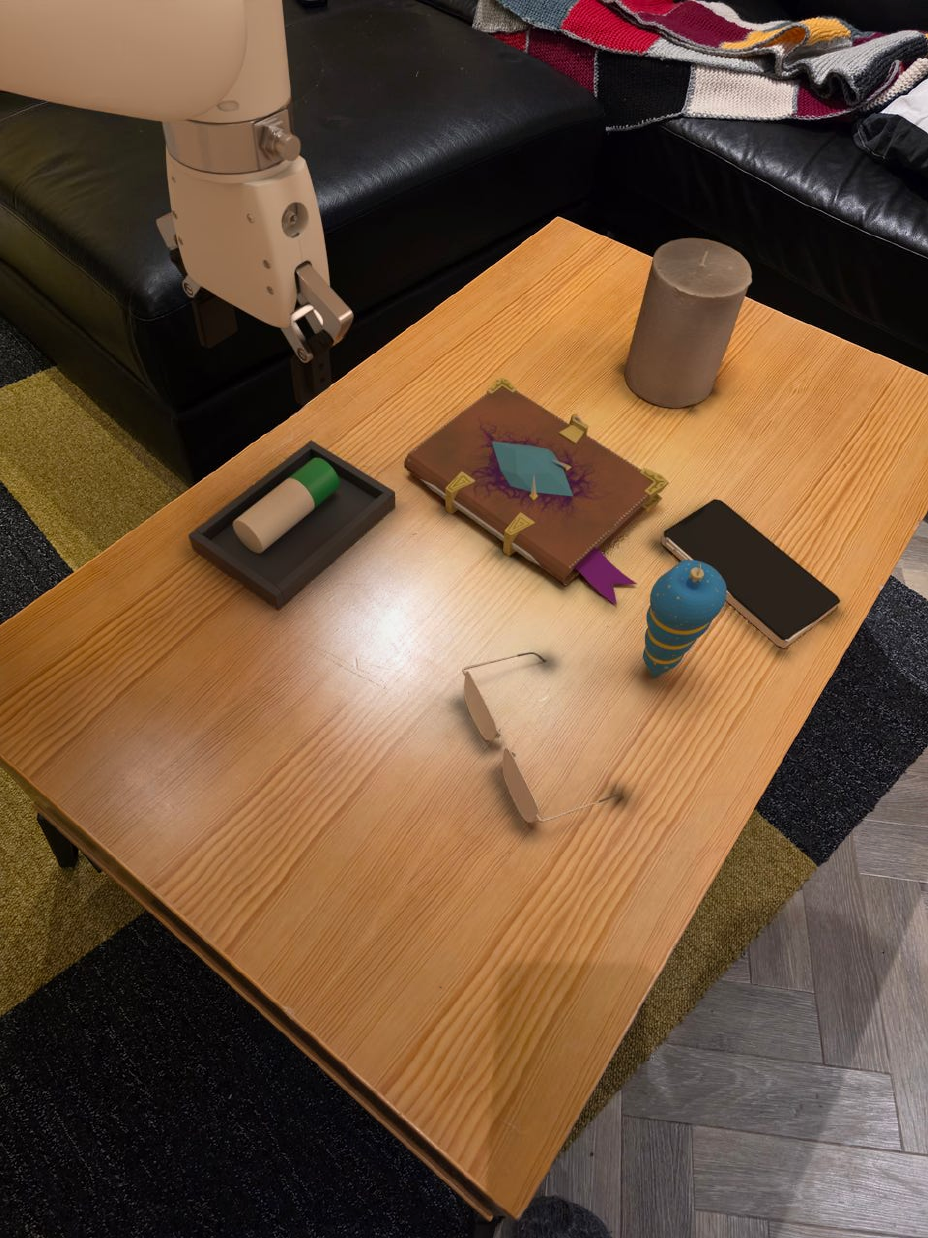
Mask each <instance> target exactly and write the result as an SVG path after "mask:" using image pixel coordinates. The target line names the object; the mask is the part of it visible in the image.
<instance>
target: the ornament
mask: <svg viewBox="0 0 928 1238" xmlns="http://www.w3.org/2000/svg"><path fill="white" fill-rule="evenodd" d="M726 594H727V590H726V584H725V582H724V579H723V578H722V576H721V575H720V574H719V573H718V571H717V570H716V569H714V568H713V567H712V566H710V565H708V564H706V563H703V562H700V561H696V560H683V561H681V560H680V561H679V562H678V563H677V564H675V565H674V566H673V567H671V569H669V570H668V571H666V572H665V573H664V574H662V575H661V576H660V577H659V578H657V580H656V581H655V583H654V584H653V586H652V587H651V590H650V593H649V604H650V605H649V607H648V608H647V611H646V625H647V628H646V630H645V633H644V645H645V647H644V649H643V652H642V659H643V663H644V665H645V667H646V669H647V672H648V674H649V676H650V677H651V678H653V679H657V678H659V677H661V676H662V675H664V674H666V673H667V672H669V671H671V670H673V669H674V668H676V667H677V666H678V665H679V664H680V663H681V661H682V660H683V659H684V656H685V654H686V653H688V652H689V651H690V650H692V648H693V647H694V645H695V644H696V642H697V639H699V638H700V637H702V636H703V635H704V634H705V633H706V632H707V630H708V629H709V628H710V627H711V624H712V623H713V620H714V619H715V618H716V617H718V615H719V614H720V613H721V611H722V610H723V608H724V606H725V605H726V602H727V601H726Z"/></svg>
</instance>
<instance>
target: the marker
mask: <svg viewBox="0 0 928 1238" xmlns="http://www.w3.org/2000/svg"><path fill="white" fill-rule="evenodd" d="M339 486H340V482H339V478H338V476H337V474H336V472H335V471H334V469H333V468H332V467H331V466H330V465H329V464H328V463H327V462H326V461H324V460H323V459H320V458H313V459H312V460H310V461H309V462H308V463H307V464H305V465H304V466H303V467H302V468H300V469H299V470H298V471H296V472H295V473H294V474H293V475H291V476H290V477H289V478H288V479H286V480H285V481H284V482H282V483H281V484H280V485H279V486H277V487H276V488H275V489H274V490H272V491H271V492H270V493H269V494H267V495H266V496H265V497H263V498H262V499H261V500H260V501H258V502H257V503H256V504H255V505H253V506H252V507H251V508H249V509H248V510H247V511H246V512H244V513H243V514H242V515H241V516H239V517H238V518H237V519H236V520H234V522H233V528H234V531H235V533H236V534H237V536H238V538H239V539H240V540H241V541H242V543H243V544H244V545H245V546H246V547H248V548H249V549H250V550H252V551H253V552H255V553H262V552H263V551H264V550H265V549H267V548H268V547H269V546H270V545H271V544H273V543H274V542H275V541H276V540H277V539H279V538H280V537H281V536H282V535H283V534H285V533H286V532H287V531H288V530H290V529H291V528H292V527H293V526H294V525H296V524H297V523H298V522H299V521H300V520H302V519H303V518H304V517H305V516H306V515H308V514H309V513H310V512H311V511H312V510H314V509H315V508H316V507H317V506H318V505H320V504H321V503H322V502H323V501H325V500H326V499H327V498H328V497H329V496H331V495H332V494H333V493H334V492H335V491H337V490H338V489H339Z"/></svg>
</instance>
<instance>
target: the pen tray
mask: <svg viewBox="0 0 928 1238" xmlns="http://www.w3.org/2000/svg"><path fill="white" fill-rule="evenodd" d="M313 458H320V459H323V460H324V461H326V462H327V463H328V464H329V465H330V466H331V467H332V468H333V469H334V471H335V472H336V474H337V476H338V478H339V482H340V486H339V489H338V490H337V491H335V492H334V493H333V494H332V495H331V496H329V497H328V498H327V499H326V500H325V501H323V502H322V503H321V504H320V505H318V506H317V507H316V508H315V509H314V510H312V511H311V512H310V513H309V514H308V515H306V516H305V517H304V518H303V519H302V520H300V521H299V522H298V523H297V524H296V525H294V526H293V527H292V528H291V529H290V530H288V531H287V532H286V533H285V534H283V535H282V536H281V537H280V538H279V539H277V540H276V541H275V542H274V543H273V544H271V545H270V546H269V547H268V548H267V549H265V550H264V551H263V552H262V553H255V552H253V551H252V550H250V549H249V548H248V547H246V546H245V545H244V544H243V543H242V541H241V540H240V539H239V538H238V536H237V534H236V533H235V531H234V528H233V522H234V520H236V519H237V518H238V517H239V516H241V515H242V514H243V513H244V512H246V511H247V510H248V509H249V508H251V507H252V506H253V505H255V504H256V503H257V502H258V501H260V500H261V499H262V498H263V497H265V496H266V495H267V494H269V493H270V492H271V491H272V490H274V489H275V488H276V487H277V486H279V485H280V484H281V483H282V482H284V481H285V480H286V479H288V478H289V477H290V476H291V475H293V474H294V473H295V472H296V471H298V470H299V469H300V468H302V467H303V466H304V465H305V464H307V463H308V462H309V461H310V460H312V459H313ZM395 508H396V491H394V489H391V488H390V487H389V486H387V485H385V484H383V483H381V482H380V481H378V480H377V479H375V478H373V477H372V476H370V475H368V474H367V473H366V472H364V471H362V470H361V469H359V468H357V467H356V466H354V465H352V464H351V463H349V462H347V461H346V460H345V459H343V458H341V457H339V456H338V455H336V454H334V453H333V452H331V451H330V450H328V449H327V448H325V447H323V446H321V445H320V444H318V443H317V442H315V441H313V440H312V439H311V440H309V441H308V442H306V443H305V444H304V445H303V446H301V447H300V448H298V449H297V450H296V451H295V452H293V453H292V454H291V455H290V456H288V457H287V458H286V459H284V460H283V461H282V462H281V463H279V464H278V465H276V466H275V467H274V468H273V469H272V470H270V471H269V472H268V473H267V474H265V475H264V476H262V477H261V478H260V479H259V480H257V481H256V482H255V483H254V484H252V485H250V487H248V488H247V489H246V490H244V491H243V492H241V493H240V494H239V495H238V496H237V497H235V498H234V499H232V500H231V501H230V502H229V503H227V504H226V505H225V506H224V507H222V508H220V510H218V511H216V513H214V514H213V515H212V516H210V517H209V518H207V520H206V521H204V522H203V523H201V524H200V525H199V526H198V527H196V528H195V529H194V530H192V531H191V532H190V533H188V538H189V541H190V544H191V547H192V548H191V549H192V550H193V551H194V552H195V553H197V554H198V555H200V556H201V557H203V558H204V559H205V560H207V561H208V562H210V563H211V564H212V565H214V566H215V567H217V568H218V569H219V570H221V571H222V572H224V573H225V574H226V575H228V576H229V577H230V578H232V579H234V580H235V581H236V582H238V583H239V584H240V585H242V586H243V587H245V588H246V589H248V590H249V591H250V592H252V593H253V594H254V595H256V596H258V597H259V598H260V599H262V600H263V601H264V602H266V603H267V604H268V605H270V606H271V607H273V608H274V609H276V610H277V611H280V610H281V609H283V607H285V605H287V604H288V603H289V602H290V601H291V600H292V599H293V598H294V597H295V596H297V595H298V594H299V593H301V591H302V590H303V589H305V588H306V587H307V586H308V585H309V584H310V583H311V582H313V581H314V580H315V579H316V578H317V577H319V576H320V574H322V573H323V572H324V571H325V570H326V569H327V568H328V567H329V566H331V565H332V564H333V563H334V562H335V561H336V560H338V559H339V558H340V557H341V556H342V555H343V554H345V552H346V551H348V550H349V549H350V548H351V547H352V546H354V544H355V543H357V542H358V541H359V540H360V539H361V538H362V537H364V535H366V534H367V533H368V532H369V531H370V530H372V529H373V528H374V527H375V526H376V525H377V524H378V523H379V522H380V521H381V520H383V519H384V518H385V517H386V516H387V515H388V514H389V513H391V512H392V511H393V510H394V509H395Z"/></svg>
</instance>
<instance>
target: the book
mask: <svg viewBox="0 0 928 1238" xmlns="http://www.w3.org/2000/svg"><path fill="white" fill-rule="evenodd" d="M568 422H569V423H568ZM568 422H567V421H565V420H564V419H563V418H561V417H559V416H558V415H556V414H554V413H553V412H551V411H549V410H548V409H546V408H545V407H543V406H541V405H540V404H539V403H537V402H535V401H533V400H532V399H530V398H529V397H527V396H526V395H524V394H523V393H521V392H519V391H518V388H517V387H516V386H515V385H513V383H512V382H511V381H510V380H509V379H506V378H503V377H499V378H498V379H495V380H494V381H493V383H491V385H490V386H489V387H488V388H487V389H486V393H484V395H483V396H481V397H480V398H478V399H477V400H476V401H474V402H473V403H472V404H471V405H469V406H468V407H466V408H465V409H464V410H463V411H462V412H460V413H459V414H457V415H456V416H455V417H454V418H452V419H451V420H450V421H448V422H446V423H445V424H444V425H443V426H442V427H440V428H439V429H437V431H435V432H434V433H433V434H431V435H430V436H428V437H427V438H425V440H424V441H422V442H421V443H419V444H418V445H417V446H416V447H414V448H413V449H412V450H411V451H409V452H408V453H407V455H406V457H405V460H404V461H403V468H404V469H405V471H407V472H409V473H410V474H411V475H412V476H414V477H416V478H417V479H418V480H420V481H421V482H422V483H424V484H425V485H426V486H427V487H428V488H429V490H431V491H432V492H434V493H435V494H437V495H438V496H440V497H441V498H442V499H443V500H444V501H445V511H446V512H448V513H449V514H451V515H453V514H454V513H456V512H457V511H460V512H462V513H463V514H464V515H466V516H467V517H469V518H470V519H471V520H473V521H474V522H475V523H476V524H478V525H479V526H481V527H482V528H483V529H485V530H486V531H488V532H489V533H491V534H492V535H493V536H495V537H496V538H498V539H499V540H500V541H502V542H503V547H502V548H503V549H502V552H503V553H504V554H505V555H506V556H508V557H511V556H512V555H514V554H515V553H518V554H519V555H521V556H522V557H524V558H525V559H526V560H527V561H529V562H532V563H534V564H536V565H537V566H538V567H540V568H541V569H542V570H544V571H545V572H547V573H548V574H549V575H551V576H552V577H554V578H555V579H556V580H558V581H560V583H563V585H566V586H567V585H569V584H570V583H571V582H572V581H573V580H574V579H575V578H576V577H577V576H578V575H579V574H580V575H581V576H582V577H583V578H584V580H585V581H586V582H587V583H588V584H589V585H590V586H592V588H593V589H594V590H596V591H597V592H598V593H599V594H600V595H601V596H603V597H604V598H606V599H607V600H608V601H610V602H612V603H613V604H614V605H615V606H617V605H618V603H617V598H616V593H615V588H614V585H638V583H637V582H635V581H634V580H633V579H631V578H630V577H628V576H627V575H626V574H624V573H623V572H622V571H621V570H619V568H617V567H616V566H615V565H614V564H612V562H611V561H610V560H609V559H608V558H607V557H606V556H605V554H603V553H602V552H604V551H605V550H606V549H607V548H608V547H609V546H611V544H612V543H613V542H614V541H615V540H616V539H617V538H618V537H619V536H621V535H622V534H623V533H624V532H625V531H626V530H627V529H628V528H629V527H630V526H631V525H632V524H634V523H635V521H637V520H638V519H639V518H640V517H641V516H642V515H643V514H644V513H645V512H649V511H650V510H651V509H653V508H656V507H657V506H658V504H659V503H660V502H661V501H662V500H663V497H662V496H661V495H660V493H662V492H663V491H664V490H665V489H666V487H667V486H668V485H669V484H670V482H669V480H668V479H666V478H665V477H664V476H663V474H660V473H658V472H655V471H653V470H650V469H648V468H645V467H644V468H643V469H641V468H639V467H638V466H636V465H634V464H633V463H632V462H630V461H628V460H627V459H625V458H623V456H621V455H619V454H617V453H616V452H614V451H612V450H611V449H609V448H608V447H606V446H604V445H603V444H601V443H600V442H598V441H597V440H595V439H594V438H592V437H591V436H589V435H588V429H589V428H590V425H589V424H587V423H586V422H584V421H582V419H581V418H580V417H579V414H578V413H577V412H576V413H573V414H571V417H570V420H569V421H568Z"/></svg>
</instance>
